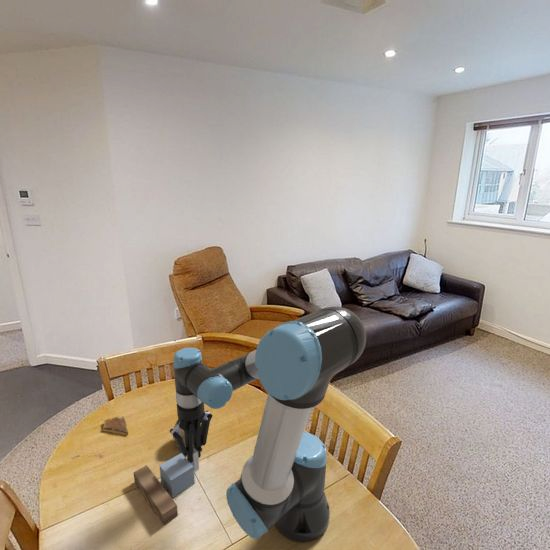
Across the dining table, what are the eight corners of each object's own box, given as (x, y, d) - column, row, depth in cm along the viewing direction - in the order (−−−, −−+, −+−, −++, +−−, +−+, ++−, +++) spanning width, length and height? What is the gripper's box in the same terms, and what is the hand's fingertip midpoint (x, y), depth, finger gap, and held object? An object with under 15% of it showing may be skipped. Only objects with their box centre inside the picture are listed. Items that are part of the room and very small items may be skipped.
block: (194, 483, 104) (193, 466, 102) (172, 497, 99) (170, 480, 97) (182, 468, 109) (181, 452, 107) (161, 481, 104) (159, 465, 102)
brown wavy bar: (177, 515, 94) (176, 505, 93) (163, 525, 91) (162, 514, 90) (147, 474, 107) (146, 464, 106) (134, 482, 104) (133, 472, 103)
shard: (128, 436, 122) (128, 432, 122) (104, 444, 118) (103, 440, 118) (124, 418, 131) (123, 414, 131) (101, 425, 127) (100, 421, 127)
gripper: (203, 386, 107) (206, 449, 114) (162, 404, 99) (168, 472, 106) (217, 397, 102) (219, 463, 109) (175, 417, 93) (181, 488, 100)
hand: (194, 467), depth 107 cm, fingers closed
